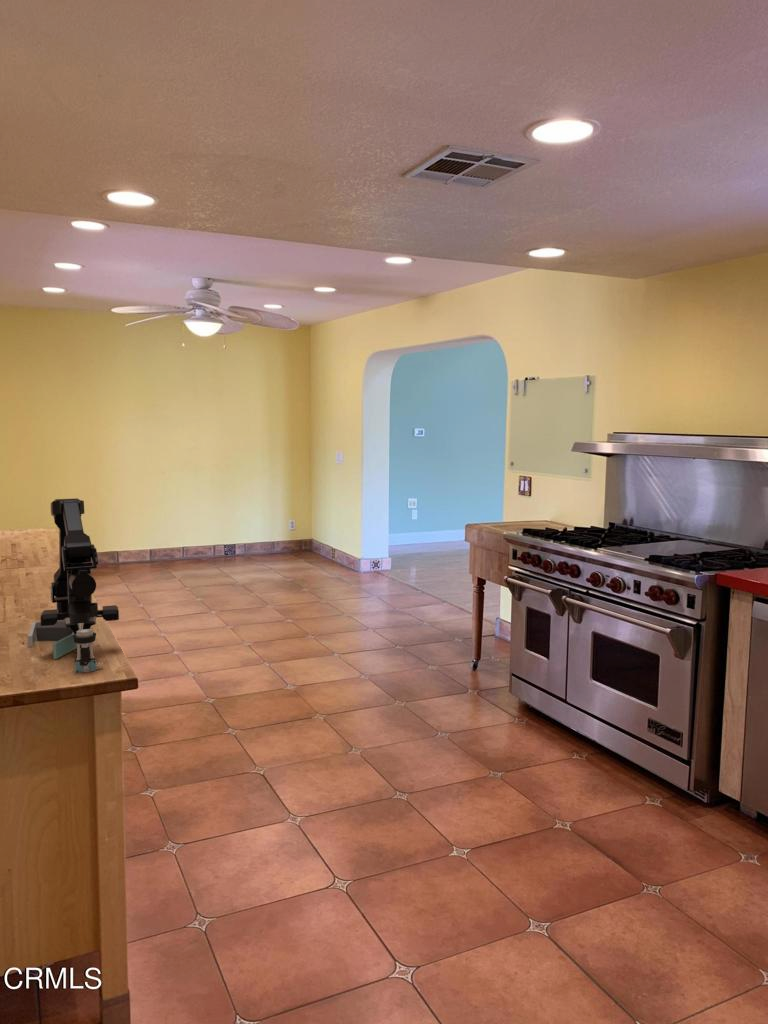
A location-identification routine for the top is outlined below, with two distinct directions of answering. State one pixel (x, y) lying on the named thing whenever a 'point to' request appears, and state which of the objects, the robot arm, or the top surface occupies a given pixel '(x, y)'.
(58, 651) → the bar
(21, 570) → the top surface
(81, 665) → the push button
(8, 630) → the top surface
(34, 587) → the top surface
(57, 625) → the block
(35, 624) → the frame
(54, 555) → the top surface
